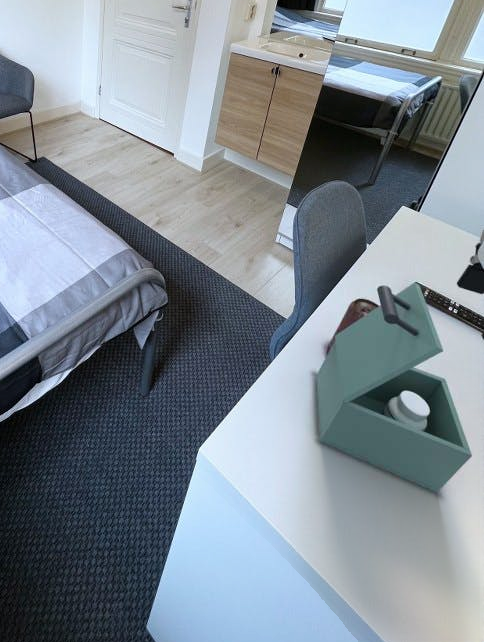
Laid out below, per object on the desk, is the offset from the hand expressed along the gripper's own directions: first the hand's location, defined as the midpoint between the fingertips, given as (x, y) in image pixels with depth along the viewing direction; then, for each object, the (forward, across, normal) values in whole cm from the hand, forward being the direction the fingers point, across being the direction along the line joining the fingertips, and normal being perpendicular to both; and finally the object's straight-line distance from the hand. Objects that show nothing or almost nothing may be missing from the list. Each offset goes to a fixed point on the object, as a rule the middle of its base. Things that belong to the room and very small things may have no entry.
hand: (481, 314), depth 57 cm
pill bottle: (+30, 0, 0) cm, 30 cm away
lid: (+11, 0, +8) cm, 14 cm away
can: (+31, +13, +6) cm, 34 cm away
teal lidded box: (+30, 0, +3) cm, 30 cm away
